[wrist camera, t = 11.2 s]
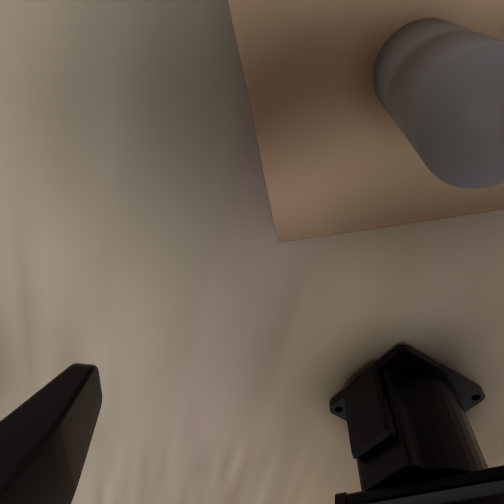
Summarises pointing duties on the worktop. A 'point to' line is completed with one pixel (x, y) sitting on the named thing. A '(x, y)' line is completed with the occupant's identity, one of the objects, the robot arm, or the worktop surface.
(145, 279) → the worktop surface
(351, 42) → the post board
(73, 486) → the robot arm
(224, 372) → the worktop surface
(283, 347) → the worktop surface
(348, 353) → the worktop surface
